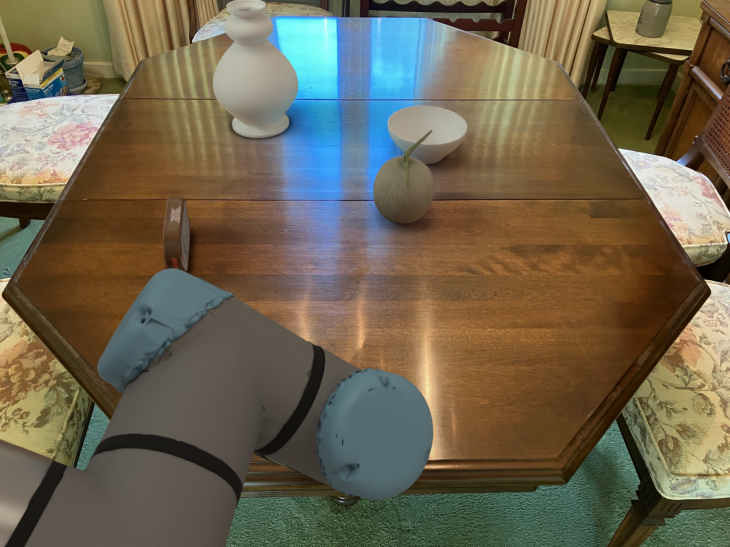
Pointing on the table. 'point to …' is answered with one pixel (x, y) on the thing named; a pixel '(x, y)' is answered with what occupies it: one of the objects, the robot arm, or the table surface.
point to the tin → (176, 234)
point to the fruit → (403, 188)
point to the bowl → (418, 122)
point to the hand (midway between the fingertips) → (217, 402)
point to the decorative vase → (254, 74)
